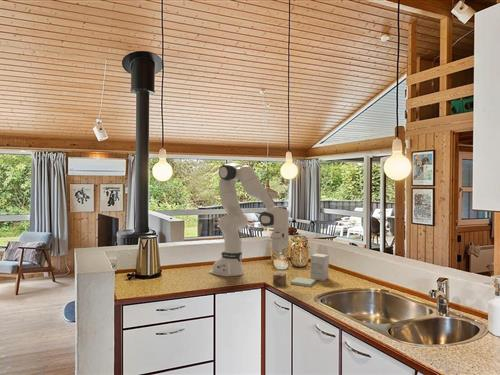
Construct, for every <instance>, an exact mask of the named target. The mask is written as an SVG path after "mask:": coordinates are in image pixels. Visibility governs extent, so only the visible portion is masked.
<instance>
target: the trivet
mask: <svg viewBox="0 0 500 375" xmlns="http://www.w3.org/2000/svg"><path fill="white" fill-rule="evenodd" d="M316 281H317V280H316V279H310V278H306V277H300V276H299V277H297V276H296V277H295V278H293V280H291V281H290V285H295V286H300V287H301V286H302V287H309V288H310V287H311V288H312V286H313V285H314V284H316Z"/></svg>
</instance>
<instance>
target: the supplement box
mask: <svg viewBox="0 0 500 375" xmlns="http://www.w3.org/2000/svg"><path fill="white" fill-rule="evenodd" d="M329 262H330V261H329V254H324V253H315V254H314V253H313V254H311V255H310V272H309V273H310V278H309V279H316V281H321V282H324V281H326V280H327V279H329Z"/></svg>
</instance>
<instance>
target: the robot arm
mask: <svg viewBox="0 0 500 375" xmlns="http://www.w3.org/2000/svg"><path fill="white" fill-rule="evenodd" d="M218 176H219V177H220V179H219V181H218V189H219V190H218V191H219V196H220V197H219V198H220V202H221V207H222V208H223V209H224V210H225V212H226V214H224V215H223V216H221V217H220V218H219V219H218V223H217V224H218V225H217V226H218V228H219V230H221V233H222V234H223V239H224V250H223V251H222V252H221V254H220V256H221V257H220V258H218V259H217V260H216V261H214V263H213V265H212V269H210V270H209V271H208V273H209V274H213V275H216V276H223V277H234V276H235V277H237V276H241V275H244V269H243V263H242V261H243V252H242V242H243V241H242V239H241V238H240V236H239V232H238V231H239V230H242V229H244V228H245V227H247V225H248V223H249V219H248V216H247V215H246V214H245V213H244V212H243V210H242V208H241V206H240V202H239V198H238V193H237V192H238V191H237V188H236V185H237V184H236V183H237V182H238V183H241V186H242V188H243V190H244V192H245V193H246V194H247V195H248V196H250V197H253V198H256V199H258V200H259V201H261V202H262V203H263V205H264V206H265V208H266V210H265V211H262V212H261V213H260V214H259V217H258V220H259V224H260V225H261V226H262V227H265V228H268V227H270V228H271V227H273V228H272V230H273V231H272V232H271V233H270V237H271V249H272V250H271V251H273V252H275V255H276V259H280V258H281V255H282V256H286V252H287V251H286V250H287V248H288V247H289V246H290V241H289V225H288V224H289V211H288V208H287V207H286V206H283V205H277V204H276V203H275V200H273V197H272V196H271V194H270V193H269V192H268V191H267V189H266V188H265V186H263V184H262V182H261V180H260V179H259V176H258V175H257V173H256V172H255V170H254V168H252V166H250V165H246V164H243V163H238V162H237V163H225V164H222V165H220V167H219V170H218ZM281 250H282V251H281ZM280 251H281V253H280Z"/></svg>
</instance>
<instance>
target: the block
mask: <svg viewBox="0 0 500 375" xmlns="http://www.w3.org/2000/svg"><path fill="white" fill-rule="evenodd" d="M286 284H287V273H284V272H275V273H274V274H272V286H279V287H280V286H281V287H283V286H284V285H286Z"/></svg>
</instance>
